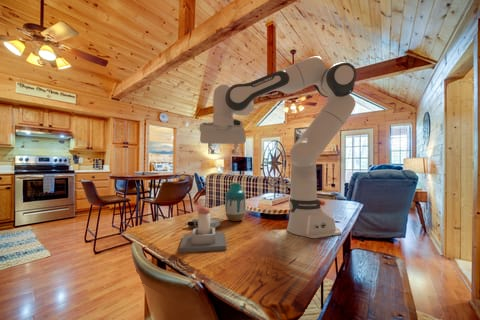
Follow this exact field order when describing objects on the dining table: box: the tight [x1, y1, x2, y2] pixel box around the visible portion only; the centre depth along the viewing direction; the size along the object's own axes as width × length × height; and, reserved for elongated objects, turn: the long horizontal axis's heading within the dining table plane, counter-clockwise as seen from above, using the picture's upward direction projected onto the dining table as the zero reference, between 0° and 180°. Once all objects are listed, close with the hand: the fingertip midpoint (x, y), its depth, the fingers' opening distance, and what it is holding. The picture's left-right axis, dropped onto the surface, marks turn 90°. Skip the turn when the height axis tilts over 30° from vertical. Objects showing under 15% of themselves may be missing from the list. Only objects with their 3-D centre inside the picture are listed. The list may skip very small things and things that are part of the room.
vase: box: [224, 182, 247, 222], centre depth 108 cm, size 11×11×19 cm
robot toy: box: [184, 217, 225, 229], centre depth 97 cm, size 12×4×15 cm
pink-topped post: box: [197, 206, 211, 235], centre depth 79 cm, size 4×4×12 cm
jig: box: [178, 227, 227, 254], centre depth 79 cm, size 16×14×4 cm
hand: (223, 153), depth 93 cm, fingers open, 8 cm apart
